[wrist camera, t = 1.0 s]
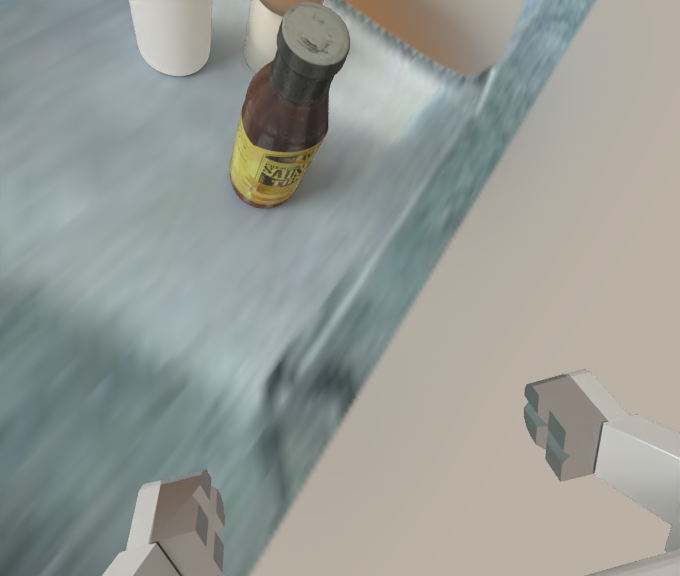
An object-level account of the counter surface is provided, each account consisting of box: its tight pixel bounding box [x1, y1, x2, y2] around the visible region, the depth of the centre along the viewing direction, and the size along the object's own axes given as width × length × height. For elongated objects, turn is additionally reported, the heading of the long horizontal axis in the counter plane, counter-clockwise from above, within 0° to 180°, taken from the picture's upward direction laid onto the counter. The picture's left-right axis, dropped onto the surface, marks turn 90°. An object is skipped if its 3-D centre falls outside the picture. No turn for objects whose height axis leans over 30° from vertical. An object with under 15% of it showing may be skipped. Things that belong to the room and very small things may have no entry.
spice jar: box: [244, 0, 324, 74], centre depth 42 cm, size 6×6×11 cm
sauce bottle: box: [230, 2, 350, 208], centre depth 36 cm, size 7×6×20 cm
